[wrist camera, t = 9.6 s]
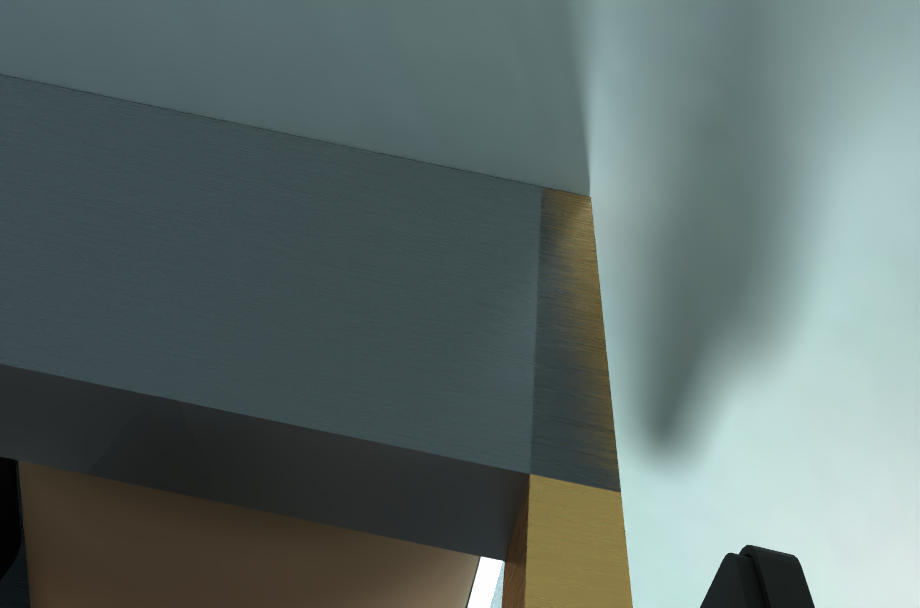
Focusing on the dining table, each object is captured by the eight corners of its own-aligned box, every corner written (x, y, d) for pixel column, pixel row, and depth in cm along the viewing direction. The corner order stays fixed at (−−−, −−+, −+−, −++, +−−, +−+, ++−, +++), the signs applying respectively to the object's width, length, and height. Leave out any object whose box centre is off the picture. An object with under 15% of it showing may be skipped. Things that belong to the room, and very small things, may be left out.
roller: (531, 300, 11) (499, 602, 6) (454, 588, 13) (392, 942, 9) (158, 213, 11) (-126, 451, 7) (153, 516, 13) (-53, 831, 9)
